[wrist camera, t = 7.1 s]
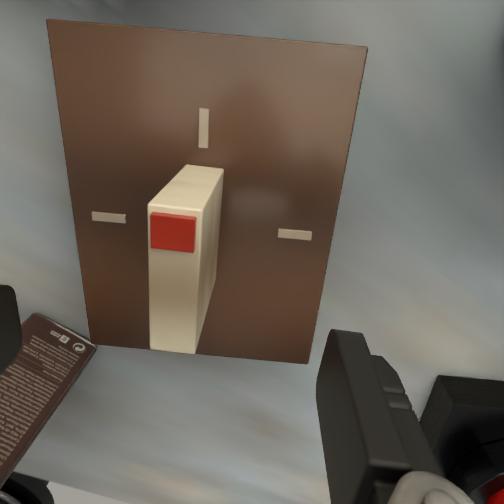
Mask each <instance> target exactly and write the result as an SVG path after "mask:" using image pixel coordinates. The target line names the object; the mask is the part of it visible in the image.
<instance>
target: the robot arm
mask: <svg viewBox="0 0 504 504" xmlns="http://www.w3.org/2000/svg"><path fill="white" fill-rule="evenodd" d="M21 345H22V330H21V324H20V318H19V312H18V307H17V301H16V295H15V292H14V290H13V288H12V287H11V286H9V285H1V284H0V375H1V374H2V373H3V372H4V371H5V370H6V369H7V368H8V367H9V366H10V364H11V363H12V362H13V361H14V360H15V359H16V357H17V355H18V353H19V351H20V349H21ZM316 402H317V409H318V416H319V423H320V430H321V437H322V444H323V451H324V457H325V464H326V471H327V478H328V485H329V492H330V499H331V504H474V502H473V501H472V500H471V499H470V498H469V497H468V496H467V495H466V494H465V493H464V492H463V491H462V490H461V489H460V488H459V487H457V486H456V485H454V484H453V483H452V482H450V481H448V480H447V479H445V478H443V476H442V474H441V471H440V469H439V467H438V465H437V462H436V460H435V458H434V456H433V453H432V451H431V449H430V446H429V444H428V442H427V440H426V437H425V435H424V433H423V431H422V428H421V426H420V424H419V421H418V419H417V417H416V415H415V412H414V410H412V405H411V403H410V401H409V399H408V396H407V395H406V394H405V390H404V387H403V385H402V383H401V380H400V378H399V376H398V374H397V372H396V371H395V370H394V369H393V368H392V367H391V366H390V364H389V363H388V362H387V361H386V360H385V359H384V358H383V357H382V356H376V355H371V354H370V351H369V349H368V346H367V343H366V341H365V338H364V336H363V334H362V333H358V332H351V331H343V330H336V329H331V330H330V332H329V335H328V338H327V342H326V346H325V349H324V353H323V357H322V361H321V364H320V368H319V372H318V376H317V382H316ZM0 504H28V503H27V501H26V500H25V499H24V498H23V497H21V496H20V495H19V494H18V493H16V492H15V491H13V490H12V489H10V488H8V487H6V486H4V485H3V486H2V487H1V488H0Z"/></svg>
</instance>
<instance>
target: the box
mask: <svg viewBox="0 0 504 504" xmlns="http://www.w3.org/2000/svg"><path fill="white" fill-rule="evenodd" d="M21 330H22V345H21V349H20V351H19V353H18V355H17V357H16V359H15V360H14V361H13V362H12V363H11V364H10V366H9V367H8V368H7V369H6V370H5V371H4V372H3V373H2V374H1V375H0V488H1V487H2V486H3V484H4V483H5V481H6V480H7V478H8V477H9V476H10V474H11V473H12V472H13V470H14V469H15V467H16V466H17V464H18V463H19V461H20V460H21V459H22V457H23V456H24V454H25V453H26V451H27V450H28V449H29V447H30V446H31V444H32V443H33V441H34V440H35V439H36V437H37V436H38V434H39V433H40V431H41V430H42V429H43V427H44V426H45V424H46V423H47V421H48V420H49V419H50V417H51V416H52V414H53V413H54V412H55V410H56V409H57V407H58V406H59V405H60V403H61V402H62V400H63V399H64V397H65V396H66V395H67V393H68V392H69V390H70V389H71V387H72V386H73V384H74V383H75V381H76V380H77V378H78V377H79V376H80V374H81V373H82V371H83V370H84V368H85V367H86V365H87V364H88V362H89V361H90V359H91V358H92V356H93V354H94V353H95V351H96V349H97V347H96V346H95V345H94V344H91V342H90V341H89V340H88V339H87V338H84V337H82V336H80V335H78V334H76V333H75V332H73V331H72V330H70V329H68V328H65V327H63V326H61V325H60V324H58V323H55V322H53V321H52V320H50V319H48V318H46V317H44V316H42V315H39V314H37V313H33V314H32V315H31V316H30V317H29V318H28V319H27V320H26V321H25V322H24V323H23V324H22V325H21Z"/></svg>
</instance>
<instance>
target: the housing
mask: <svg viewBox="0 0 504 504" xmlns="http://www.w3.org/2000/svg"><path fill="white" fill-rule="evenodd" d="M419 424H420V426H421V428H422V431H423V433H424V435H425V437H426V440H427V442H428V444H429V446H430V449H431V451H432V453H433V456H434V458H435V460H436V462H437V465H438V467H439V469H440V471H441V474H442V476H443V478H445V479H447V480H448V481H450V482H452V483H453V484H454V485H456V486H457V487H459V488H460V489H461V490H462V491H463V492H464V493H465V494H466V495H467V496H468V497H469V498H470V499H471V500H472V501H473V502H474V504H486V503H487V501H488V499H489V498H490V496H492V495H494V494H496V493H497V492H499V491H501V490H502V489H504V381H493V380H482V379H472V378H461V377H451V376H440V375H439V376H438V378H437V381H436V383H435V386H434V388H433V391H432V393H431V396H430V398H429V401H428V403H427V406H426V408H425V411H424V413H423V416H422V418H421V421H420V423H419Z"/></svg>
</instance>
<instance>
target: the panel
mask: <svg viewBox="0 0 504 504" xmlns="http://www.w3.org/2000/svg"><path fill="white" fill-rule="evenodd" d="M46 22H47V29H48V37H49V44H50V51H51V58H52V65H53V73H54V80H55V87H56V94H57V101H58V109H59V116H60V123H61V130H62V137H63V145H64V152H65V159H66V166H67V173H68V181H69V188H70V195H71V202H72V209H73V217H74V224H75V231H76V238H77V246H78V253H79V260H80V267H81V274H82V282H83V289H84V296H85V303H86V310H87V318H88V325H89V332H90V339H91V344H96V345H107V346H118V347H128V348H139V349H149V350H152V349H150V329H149V266H148V203H149V202H150V201H151V200H152V199H153V198H154V197H155V196H156V195H157V194H158V193H159V192H160V191H161V190H162V189H163V188H164V187H165V186H166V185H167V184H168V183H169V182H170V181H171V180H172V179H173V178H174V177H175V176H176V175H177V174H178V173H179V172H180V170H181V169H182V168H183V167H184V166H185V165H187V164H188V165H196V166H205V167H213V168H222V169H224V176H223V189H222V202H221V215H220V229H219V242H218V255H217V269H216V280H215V283H214V287H213V290H212V294H211V298H210V301H209V305H208V309H207V312H206V316H205V320H204V323H203V327H202V331H201V334H200V338H199V342H198V345H197V349H196V352H195V354H203V355H213V356H224V357H234V358H245V359H256V360H266V361H277V362H288V363H298V364H308V363H309V357H310V352H311V347H312V342H313V336H314V331H315V326H316V320H317V315H318V310H319V305H320V299H321V294H322V289H323V284H324V278H325V273H326V268H327V262H328V257H329V252H330V247H331V241H332V236H333V231H334V226H335V220H336V215H337V210H338V204H339V199H340V194H341V189H342V183H343V178H344V173H345V168H346V162H347V157H348V152H349V147H350V141H351V136H352V131H353V125H354V120H355V115H356V110H357V104H358V99H359V94H360V89H361V83H362V78H363V73H364V67H365V62H366V57H367V52H368V47H365V46H353V45H342V44H331V43H319V42H308V41H296V40H285V39H273V38H262V37H251V36H239V35H228V34H216V33H205V32H193V31H182V30H171V29H159V28H148V27H136V26H125V25H113V24H102V23H91V22H79V21H68V20H56V19H47V20H46ZM160 351H161V350H160Z"/></svg>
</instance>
